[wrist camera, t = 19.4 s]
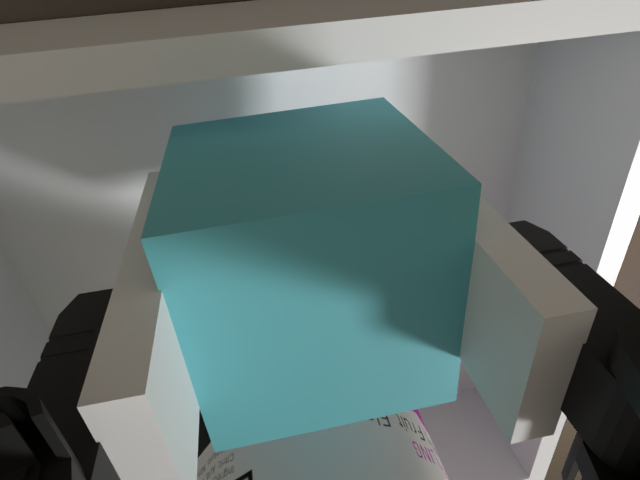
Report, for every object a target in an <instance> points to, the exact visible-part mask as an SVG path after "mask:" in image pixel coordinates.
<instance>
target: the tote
mask: <svg viewBox="0 0 640 480" xmlns="http://www.w3.org/2000/svg"><path fill="white" fill-rule="evenodd" d="M381 97H384V98H385V99H386V100H387V101H388V102H389V103H391V104H392V105H393V106H394V107H395V108H396V109H397V110H399V111H400V112H401V113H402V114H403V115H404V116H405V117H406V118H408V119H409V120H410V121H411V122H412V123H413V124H414V125H416V126H417V127H418V128H419V129H420V130H421V131H422V132H424V133H425V134H426V135H427V136H428V137H429V138H430V139H431V140H433V141H434V142H435V143H436V144H437V145H438V146H439V147H441V148H442V149H443V150H444V151H445V152H446V153H447V154H449V155H450V156H451V157H452V158H453V159H454V160H455V161H456V162H458V163H459V164H460V165H461V166H462V167H463V168H464V169H466V170H467V171H468V172H469V173H470V174H471V175H472V176H473V177H475V178H476V179H477V180H478V181H479V182H480V183H481V184H482V186H481V195H480V196H481V197H482V198H483V199H484V200H485V201H486V202H487V203H488V204H489V205H490V206H491V207H492V208H493V209H494V210H495V211H496V212H497V213H498V214H499V215H500V216H501V217H503V218H504V219H505V220H506V221H507V222H508V223H510V222H516V221H522V220H525V221H528V222H530V223H532V224H534V225H536V226H538V227H540V228H542V229H545V230H547V231H549V232H550V233H551V234H553V235H554V236H555V237H556V238H557V239H558V240H560V241H561V242H562V243H563V244H564V245H565V246H566V247H567V250H568V251H569V250H571V251H572V252H573V253H575V254H576V255H577V256H578V257H579V258H580V259H582V263H583V264H587V265H589V266H590V267H591V268H592V269H593V270H594V271H596V272H597V273H598V274H599V275H600V276H601V277H602V278H604V279H605V280H606V281H607V282H608V283H609V284H611V285H612V286H613V287H614V284H615V281H616V279H617V276H618V273H619V270H620V267H621V265H622V262H623V259H624V256H625V254H626V251H627V248H628V245H629V242H630V240H631V237H632V234H633V231H634V229H635V226H636V223H637V220H638V217H639V215H640V0H253V1H242V2H232V3H221V4H210V5H200V6H189V7H179V8H168V9H157V10H147V11H136V12H125V13H115V14H104V15H93V16H83V17H72V18H61V19H51V20H40V21H29V22H19V23H8V24H0V387H5V386H9V387H20V388H27V386H28V384H29V382H30V379H31V377H32V375H33V372H34V370H35V368H36V365H37V363H38V362H40V361H41V358H40V356H41V354H42V352H43V349H44V347H45V345H46V342H49V335H50V333H51V331H52V329H53V326H54V324H55V322H56V319H57V317H58V315H59V314H60V313H61V312H62V311H63V310H64V309H65V308H66V307H67V305H68V304H69V303H70V302H71V301H72V300H73V299H74V298H75V297H76V296H77V295H78V294H81V293H87V292H94V291H100V290H106V289H112V288H113V287H114V284H115V281H116V278H117V274H118V271H119V268H120V264H121V261H122V258H123V255H124V251H125V248H126V245H127V242H128V238H129V235H130V232H131V229H132V225H133V222H134V219H135V216H136V212H137V209H138V206H139V203H140V199H141V196H142V193H143V190H144V186H145V183H146V180H147V177H148V173H149V172H157V171H160V168H161V165H162V161H163V158H164V154H165V151H166V147H167V143H168V140H169V136H170V133H171V129H172V126H176V125H183V124H191V123H198V122H205V121H213V120H220V119H227V118H235V117H242V116H249V115H256V114H264V113H271V112H278V111H286V110H293V109H300V108H308V107H315V106H322V105H329V104H337V103H344V102H351V101H359V100H366V99H373V98H381ZM418 411H419V413H420V416H421V418H422V420H423V422H424V425H425V427H426V429H427V431H428V434H429V436H430V438H431V440H432V443H433V445H434V447H435V449H436V452H437V454H438V456H439V458H440V461H441V463H442V465H443V467H444V470H445V472H446V474H447V476H448V479H449V480H544V478H545V476H546V472H547V470H548V467H549V464H550V461H551V459H552V456H553V453H554V450H555V448H556V445H557V442H558V439H559V437H560V434H561V431H562V428H563V426H564V423H565V420H566V416H565V414H564V413H563V412H561V415H560V418H559V421H558V424H557V427H556V429H555V432H554V435H550V436H545V437H541V438H536V439H532V440H527V441H523V442H518V443H514V444H510V443H509V441H508V439H507V438H506V436H505V434H504V433H503V431H502V429H501V427H500V426H499V424H498V422H497V421H496V419H495V417H494V416H493V414H492V412H491V410H490V409H489V407H488V405H487V404H486V402H485V400H484V398H483V397H482V395H481V393H480V392H479V390H478V388H477V387H476V385H475V383H474V381H473V380H472V378H471V376H470V375H469V373H468V371H467V370H466V368H465V366H464V364H463V363H462V361H461V364H460V372H459V381H458V389H457V397H456V401H453V402H448V403H444V404H439V405H434V406H430V407H425V408H420V409H418Z"/></svg>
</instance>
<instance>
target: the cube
mask: <svg viewBox="0 0 640 480" xmlns="http://www.w3.org/2000/svg"><path fill="white" fill-rule="evenodd" d="M481 186H482V184H481V183H480V182H479V181H478V180H477V179H476V178H475V177H473V176H472V175H471V174H470V173H469V172H468V171H467V170H466V169H464V168H463V167H462V166H461V165H460V164H459V163H458V162H456V161H455V160H454V159H453V158H452V157H451V156H450V155H449V154H447V153H446V152H445V151H444V150H443V149H442V148H441V147H439V146H438V145H437V144H436V143H435V142H434V141H433V140H431V139H430V138H429V137H428V136H427V135H426V134H425V133H424V132H422V131H421V130H420V129H419V128H418V127H417V126H416V125H414V124H413V123H412V122H411V121H410V120H409V119H408V118H406V117H405V116H404V115H403V114H402V113H401V112H400V111H399V110H397V109H396V108H395V107H394V106H393V105H392V104H391V103H389V102H388V101H387V100H386V99H385V98H384V97H381V98H373V99H366V100H359V101H351V102H344V103H337V104H329V105H322V106H315V107H308V108H300V109H293V110H286V111H278V112H271V113H264V114H256V115H249V116H242V117H235V118H227V119H220V120H213V121H205V122H198V123H191V124H183V125H176V126H172V129H171V133H170V136H169V140H168V143H167V147H166V151H165V154H164V158H163V161H162V165H161V168H160V172H159V175H158V179H157V182H156V186H155V189H154V193H153V196H152V200H151V204H150V207H149V211H148V214H147V218H146V221H145V225H144V228H143V232H142V235H141V242H142V245H143V248H144V251H145V254H146V257H147V259H148V262H149V265H150V268H151V271H152V274H153V277H154V279H155V282H156V285H157V288H158V291H162V293H163V296H164V299H165V302H166V305H167V308H168V311H169V314H170V317H171V320H172V324H173V327H174V330H175V333H176V336H177V339H178V342H179V345H180V348H181V351H182V355H183V358H184V361H185V364H186V367H187V370H188V373H189V376H190V379H191V382H192V386H193V389H194V392H195V395H196V398H197V401H198V404H199V407H200V411H201V414H202V417H203V420H204V423H205V426H206V428H207V431H208V434H209V437H210V440H211V443H212V446H213V448H214V451H215V452H220V451H225V450H229V449H234V448H239V447H243V446H248V445H253V444H257V443H262V442H267V441H271V440H276V439H281V438H285V437H290V436H294V435H299V434H304V433H308V432H313V431H318V430H322V429H327V428H332V427H336V426H341V425H346V424H350V423H355V422H360V421H364V420H369V419H374V418H378V417H383V416H388V415H392V414H397V413H402V412H406V411H411V410H416V409H420V408H425V407H430V406H434V405H439V404H444V403H448V402H453V401H456V397H457V389H458V381H459V372H460V364H461V359H460V358H459V357H460V350H461V342H462V335H463V328H464V320H465V313H466V306H467V298H468V291H469V283H470V276H471V269H472V261H473V254H474V246H475V237H476V229H477V220H478V212H479V203H480V195H481Z"/></svg>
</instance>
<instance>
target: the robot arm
mask: <svg viewBox="0 0 640 480" xmlns="http://www.w3.org/2000/svg"><path fill="white" fill-rule="evenodd" d="M159 172H160V171H157V172H149V173H148V177H147V180H146V183H145V186H144V190H143V193H142V196H141V199H140V203H139V206H138V209H137V212H136V216H135V219H134V222H133V225H132V229H131V232H130V235H129V238H128V242H127V245H126V248H125V251H124V255H123V258H122V261H121V264H120V268H119V271H118V274H117V278H116V281H115V284H114V287H113V288H112V289H106V290H100V291H94V292H87V293H81V294H78V295H77V296H76V297H75V298H74V299H73V300H72V301H71V302H70V303H69V304H68V305H67V307H66V308H65V309H64V310H63V311H62V312H61V313H60V314H59V315H58V317H57V319H56V322H55V324H54V326H53V329H52V331H51V333H50V335H49V342H46V345H45V347H44V349H43V352H42V354H41V356H40V358H41V361H40V362H38V363H37V365H36V368H35V370H34V372H33V375H32V377H31V379H30V382H29V384H28V386H27V388H20V387H9V386H5V387H0V480H197V462H198V436H199V411H200V407H199V404H198V401H197V398H196V395H195V392H194V389H193V386H192V382H191V379H190V376H189V373H188V370H187V367H186V364H185V361H184V358H183V355H182V351H181V348H180V345H179V342H178V339H177V336H176V333H175V330H174V327H173V324H172V320H171V317H170V314H169V311H168V308H167V305H166V302H165V299H164V296H163V293H162V291H158V288H157V285H156V282H155V279H154V277H153V274H152V271H151V268H150V265H149V262H148V259H147V257H146V254H145V251H144V248H143V245H142V242H141V235H142V232H143V228H144V225H145V221H146V218H147V214H148V211H149V207H150V204H151V200H152V196H153V193H154V189H155V186H156V182H157V179H158V175H159ZM459 358H460V359H461V361H462V363H463V364H464V366H465V368H466V370H467V371H468V373H469V375H470V376H471V378H472V380H473V381H474V383H475V385H476V387H477V388H478V390H479V392H480V393H481V395H482V397H483V398H484V400H485V402H486V404H487V405H488V407H489V409H490V410H491V412H492V414H493V416H494V417H495V419H496V421H497V422H498V424H499V426H500V427H501V429H502V431H503V433H504V434H505V436H506V438H507V439H508V441H509V443H510V444H514V443H518V442H523V441H527V440H532V439H536V438H541V437H545V436H550V435H554V432H555V429H556V427H557V424H558V421H559V418H560V415H561V412H563V413H564V414H565V416H566V417H567V418H568V420H569V421H570V423H571V424H572V425H573V427H574V428H575V429H576V431H577V434H576V436H575V439H574V441H573V444H572V446H571V449H570V451H569V454H568V456H567V459H566V461H565V464H564V467H563V470H562V479H563V480H574V479H575V477H576V474H577V472H578V470H580V472H581V475H582V480H640V309H638V308H637V307H636V306H635V305H634V304H633V303H632V302H630V301H629V300H628V299H627V298H626V297H625V296H623V295H622V294H621V293H620V292H619V291H618V290H616V289H615V288H614V287H613V286H612V285H611V284H609V283H608V282H607V281H606V280H605V279H604V278H602V277H601V276H600V275H599V274H598V273H597V272H596V271H594V270H593V269H592V268H591V267H590V266H589V265H587V264H583V263H582V259H580V258H579V257H578V256H577V255H576V254H575V253H573V252H572V251H571V250H569V251H568V250H567V247H566V246H565V245H564V244H563V243H562V242H561V241H560V240H558V239H557V238H556V237H555V236H554V235H553V234H551V233H550V232H549V231H547V230H545V229H542V228H540V227H538V226H536V225H534V224H532V223H530V222H528V221H525V220H522V221H516V222H510V223H508V222H507V221H506V220H505V219H504V218H503V217H501V216H500V215H499V214H498V213H497V212H496V211H495V210H494V209H493V208H492V207H491V206H490V205H489V204H488V203H487V202H486V201H485V200H484V199H483V198H482V197H481V196H480V203H479V212H478V220H477V229H476V237H475V246H474V254H473V261H472V269H471V276H470V283H469V291H468V298H467V306H466V313H465V320H464V328H463V335H462V342H461V350H460V357H459Z"/></svg>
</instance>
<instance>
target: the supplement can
mask: <svg viewBox="0 0 640 480" xmlns="http://www.w3.org/2000/svg"><path fill="white" fill-rule="evenodd" d="M197 480H449V479H448V476H447V474H446V472H445V470H444V467H443V465H442V463H441V461H440V458H439V456H438V454H437V452H436V449H435V447H434V445H433V443H432V440H431V438H430V436H429V434H428V431H427V429H426V427H425V425H424V422H423V420H422V418H421V416H420V413H419V411H418V409H416V410H411V411H406V412H402V413H397V414H392V415H388V416H383V417H378V418H374V419H369V420H364V421H360V422H355V423H350V424H346V425H341V426H336V427H332V428H327V429H322V430H318V431H313V432H308V433H304V434H299V435H294V436H290V437H285V438H281V439H276V440H271V441H267V442H262V443H257V444H253V445H248V446H243V447H239V448H234V449H229V450H225V451H220V452H215V451H214V448H213V446H212V443H211V440H210V437H209V434H208V431H207V428H206V426H205V423H204V420H203V417H202V414H201V411H199V436H198V462H197Z"/></svg>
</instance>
